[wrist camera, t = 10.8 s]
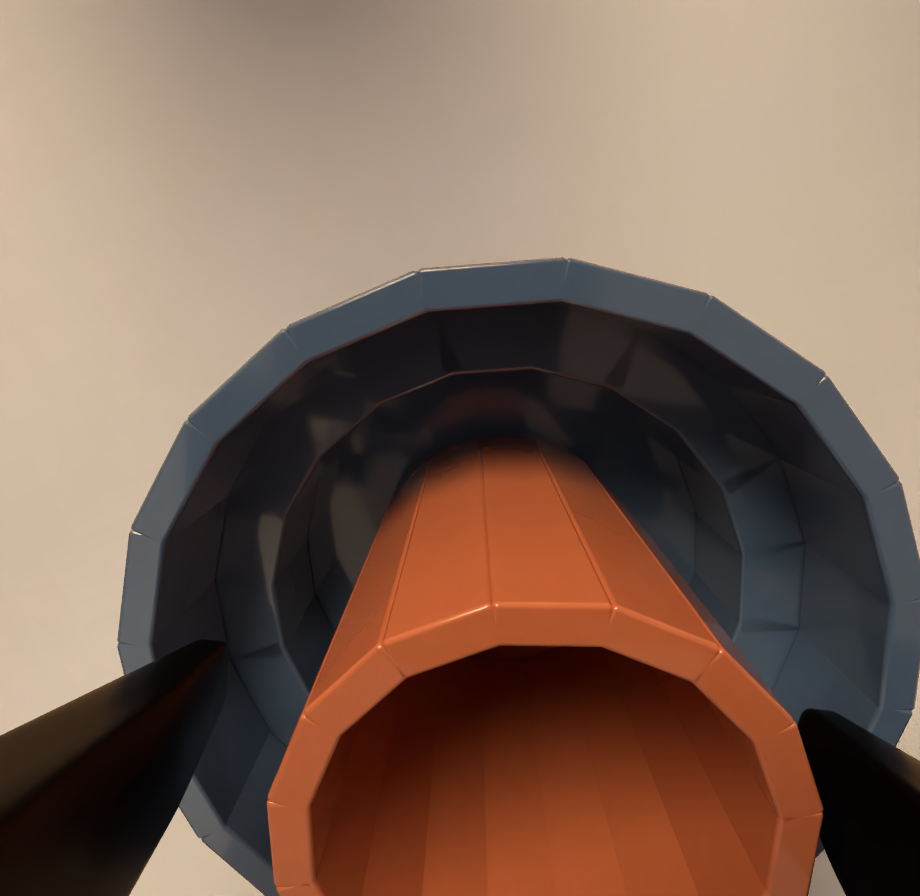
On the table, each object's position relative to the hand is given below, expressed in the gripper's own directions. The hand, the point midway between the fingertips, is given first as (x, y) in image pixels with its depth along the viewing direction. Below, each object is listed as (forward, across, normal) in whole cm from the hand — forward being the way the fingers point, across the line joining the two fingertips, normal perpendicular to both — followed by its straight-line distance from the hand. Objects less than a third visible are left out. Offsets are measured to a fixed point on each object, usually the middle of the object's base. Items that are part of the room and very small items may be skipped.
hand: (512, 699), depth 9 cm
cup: (+6, 0, 0) cm, 6 cm away
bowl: (+6, 0, 0) cm, 6 cm away
